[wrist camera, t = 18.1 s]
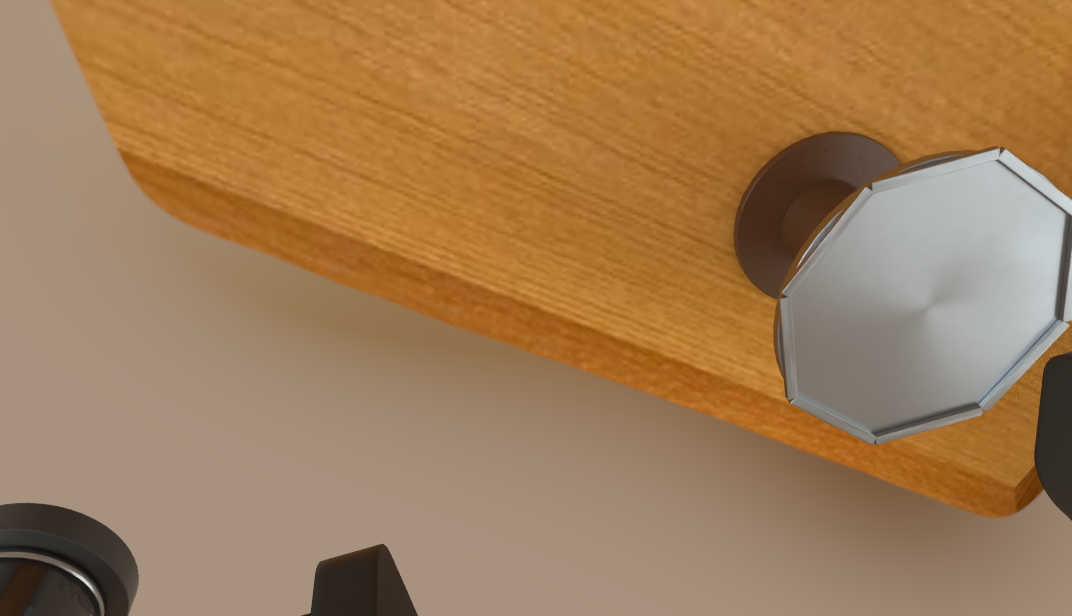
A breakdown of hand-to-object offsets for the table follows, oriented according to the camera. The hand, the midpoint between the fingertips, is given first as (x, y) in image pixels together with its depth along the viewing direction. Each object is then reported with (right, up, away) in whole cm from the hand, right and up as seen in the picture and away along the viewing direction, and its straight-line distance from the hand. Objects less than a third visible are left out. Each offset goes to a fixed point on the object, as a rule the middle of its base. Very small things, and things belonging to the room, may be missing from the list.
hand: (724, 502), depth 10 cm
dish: (+14, +7, +35) cm, 39 cm away
